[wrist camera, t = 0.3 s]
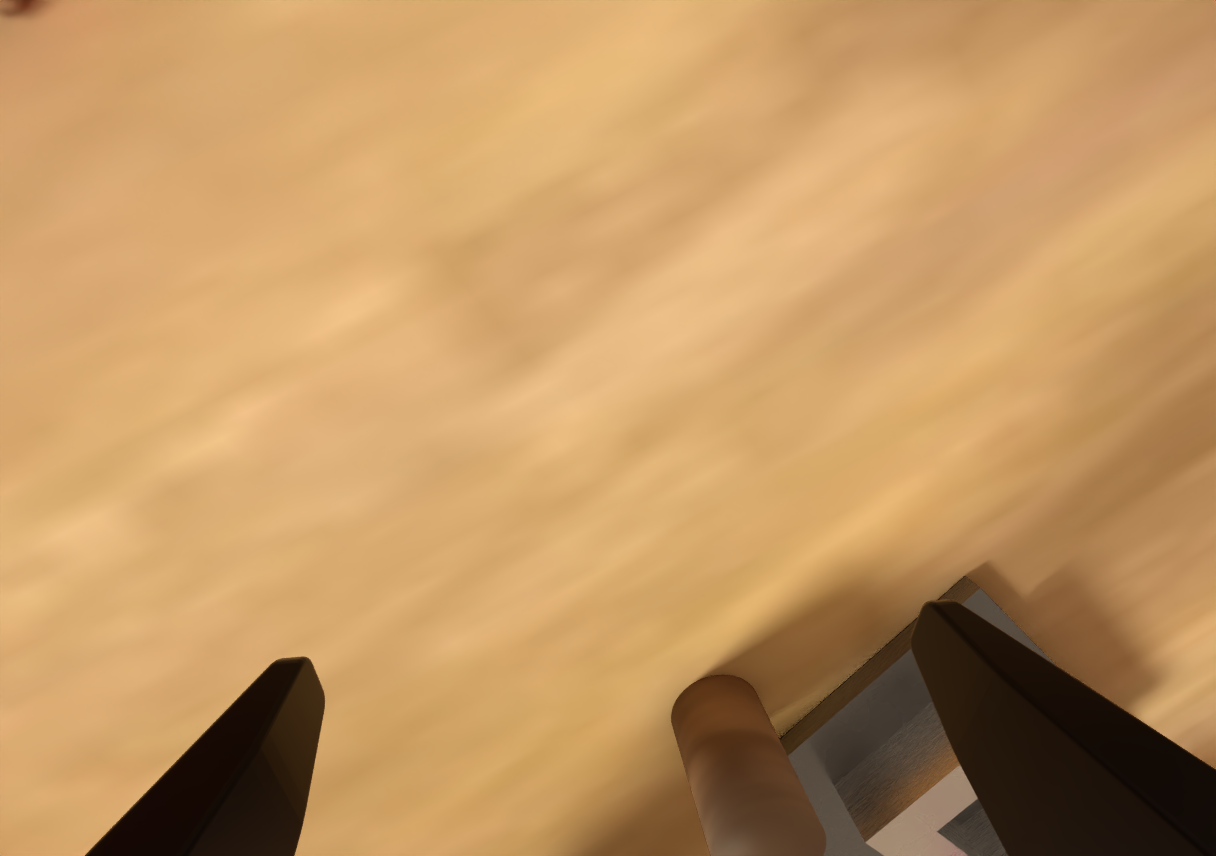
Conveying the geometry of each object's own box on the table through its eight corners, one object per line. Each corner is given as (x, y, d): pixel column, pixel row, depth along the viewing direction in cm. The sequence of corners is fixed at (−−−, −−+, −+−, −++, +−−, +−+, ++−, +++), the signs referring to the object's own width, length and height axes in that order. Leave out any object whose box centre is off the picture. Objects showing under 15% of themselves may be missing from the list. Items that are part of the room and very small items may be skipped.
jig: (920, 916, 36) (966, 996, 32) (725, 787, 31) (753, 865, 27) (1134, 749, 34) (1210, 814, 30) (965, 576, 28) (1032, 629, 25)
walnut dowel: (713, 761, 30) (766, 910, 23) (652, 719, 29) (690, 866, 22) (776, 704, 29) (848, 841, 23) (717, 659, 28) (776, 791, 21)
